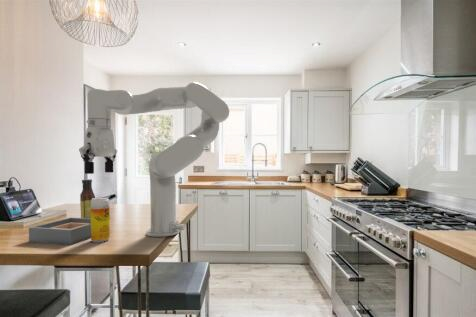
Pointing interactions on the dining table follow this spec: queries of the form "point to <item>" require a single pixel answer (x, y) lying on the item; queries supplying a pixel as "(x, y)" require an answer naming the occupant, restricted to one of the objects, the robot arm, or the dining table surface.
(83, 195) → the sauce bottle
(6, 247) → the dining table surface
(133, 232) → the dining table surface
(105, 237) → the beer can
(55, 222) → the walled box
